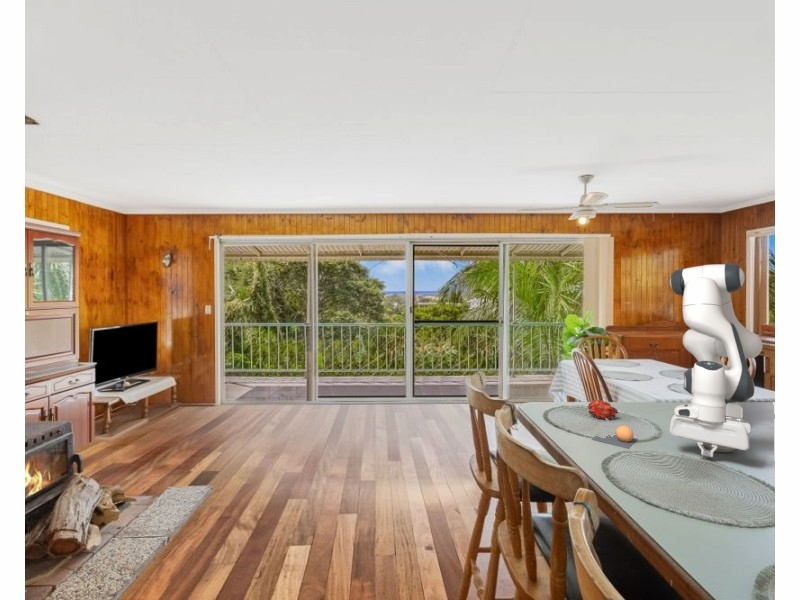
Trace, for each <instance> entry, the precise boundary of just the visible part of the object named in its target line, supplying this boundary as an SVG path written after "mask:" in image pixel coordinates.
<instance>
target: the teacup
mask: <svg viewBox="0 0 800 600" xmlns="http://www.w3.org/2000/svg"><path fill="white" fill-rule="evenodd" d="M702 445H703V446H704V447H706V448H707V449H708V450H711V449H712V448H713V447H712V443H707V442H703V444H702ZM735 450H737V449H736V448H731V447H726V446H721V445H718V447H717V449H716V450H715V451H714V452H718V453H731V452H733V451H735Z"/></svg>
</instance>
